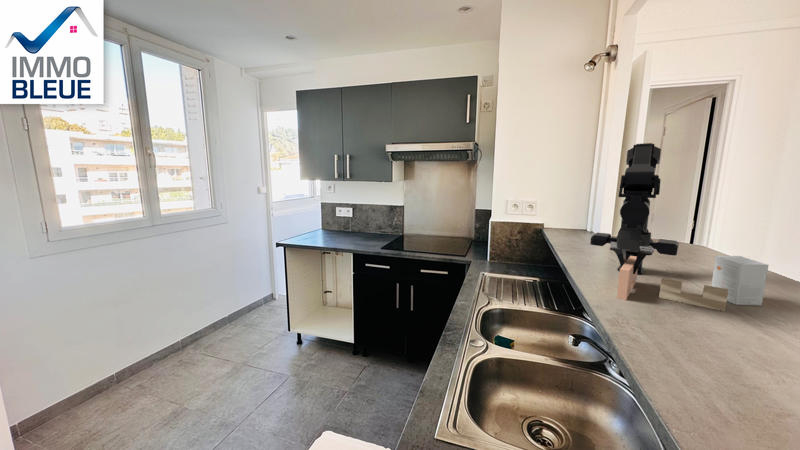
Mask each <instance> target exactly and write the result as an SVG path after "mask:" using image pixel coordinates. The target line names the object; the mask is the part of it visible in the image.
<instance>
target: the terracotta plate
mask: <svg viewBox="0 0 800 450" xmlns="http://www.w3.org/2000/svg"><path fill="white" fill-rule="evenodd" d="M636 258H637V257H636V256H630V257H629V258H628V260H627V261H626V262H625V263H624V265H623V266H622V267H621V269H620V271H619V273H618V274H619V276H618V282H617V283H618V284H617V294H616V299H618V300H624V301H626V300H628V298H629V296H630V294H631V290H633V289H634V287H635V285H636V284H637V278H638V277H637V276H638V274H637V271H636V273H635V274H633V269H634V265H635V262H636ZM637 270H638V269H637Z"/></svg>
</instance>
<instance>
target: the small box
mask: <svg viewBox="0 0 800 450" xmlns="http://www.w3.org/2000/svg"><path fill="white" fill-rule="evenodd" d="M714 259H715V260H714V264H713V265H714V266H713V272H712V279H711V285H710V286H714V287H719V288H725V289H728V296H727V302H729V303H731V304H733V305H737V306H745V305H746V306H762V305H763V301H764V300H763V299H764V294H765V288H766V283H767V282H766V281H767V276H768V271H769V266H770V265H769V264H767V263H764V262H760V261H757V260H754V259H750V258H749V257H744V256H743V255H742V256H741V255H715V258H714Z"/></svg>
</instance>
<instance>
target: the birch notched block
mask: <svg viewBox="0 0 800 450" xmlns="http://www.w3.org/2000/svg"><path fill="white" fill-rule="evenodd" d="M660 280H661V281H660V287H659V295H658V299H664V300H667V299H668V300H669V301H673V302H677V301H678V303H682V302H683V304H687V305H691V306H695V307H696V306H698V307H701V308H707V309H711V310H716V309H717V310H716V311H720V310H722V311H721V312H726V307H727V302H728V301H727V296H728V289H725V288H719V287H714V286H711V285H707V284H704V285H703V291H702V294H699V293H692V292H688V291H683V290H682V286H683V280H678V279H674V278H673V279H672V278H665V277H661V279H660ZM668 300H667V301H668Z"/></svg>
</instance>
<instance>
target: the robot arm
mask: <svg viewBox="0 0 800 450" xmlns="http://www.w3.org/2000/svg"><path fill="white" fill-rule="evenodd" d="M626 152H627V153H626V160H625V163H626V166H628V167H627V168H626V169H625V171H624V174H622V175H621V177H620V184H619V189H618V190H619V191H618V198H624V199H623V203H622V206H621V208H620V210H619V215H620V217H621V220H620V221H621V222H620V228H619V230H618V233H617V235H616V237H613V236H612V234H611V233H605V232H596V233H595V234H593V235H592V236H591V237H590V241H589V242H590V245H591V246H598V247H604V246H605V245H607V244H610V247H609V250H610V251H613V252H614V253H615V254H616V256H617V259H618V263H619V266H617V269H616V270H617V271H619V272H620V269H621V267H622V266H623V265H624V263H625V262H626V261H627V260H628V258H629V257H630V256H636V257H637V258H636V262H635V265H634V269H633V274H635V273H636V271H637V275H642V274H643V273H644V271H645V268H644V267H643V261H644V259H645V258H646V257H647V256H652V255H653V254H654V252H655V250H656V251H657V252H658V253H659V254H660V255H667V256H677V255H678V252H679V245H680V243H679V242H678V241H677V240H671V239H662V238H661V239H660V238H659V240H658V241H654V240H653V239H652V232H649V229H648V226H649V225H648V223H649V216H650V212H651V211H650V208H651V200H650V199H657V195H660V190H661V178H660V176H659V175H658V174H655V173H656V170H657V169H656V168H657V165H660V162H661V161H660V160H661V153H662V149H661V148H660V147H658V146H656V145H655V143H653V142H646V143H636V144H634V145H633V147H632V148H630V149H628V150H627V151H626ZM637 269H638V270H637Z"/></svg>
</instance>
